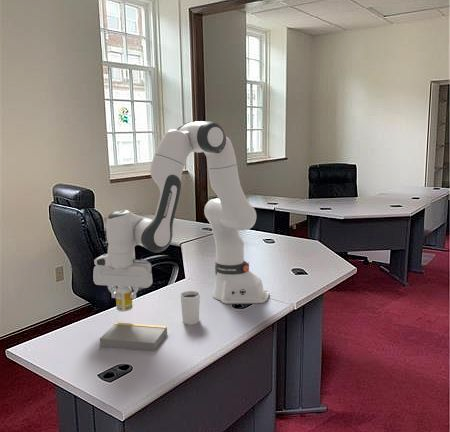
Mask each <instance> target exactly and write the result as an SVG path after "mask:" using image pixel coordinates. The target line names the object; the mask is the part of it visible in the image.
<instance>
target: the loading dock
mask: <svg viewBox="0 0 450 432" xmlns="http://www.w3.org/2000/svg"><path fill="white" fill-rule="evenodd" d="M167 334H168V326H167V325H166V326H165V325H154V324H142V323H130V322H129V323H128V322H115V323H114V324H113V325H112V326H110V328H109V329H108V330H107V331H106V332H105V333H104V334H103V335H101V336H100V337H99V346H100V347H105V348H107V347H109V348H119V349H120V348H121V349H129V350H139V351H140V350H142V351H150V352H151V351H153V352H155V350H156V349H157V348H158V347H159V345H160V344H161V343H162V341H163V340H164V338H165V337H166V336H167Z"/></svg>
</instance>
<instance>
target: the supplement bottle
mask: <svg viewBox="0 0 450 432" xmlns="http://www.w3.org/2000/svg"><path fill="white" fill-rule="evenodd" d="M115 291H116V298H115V303H116V307H115V308H116V310H117V311H118V312H129V311H131V310H133V299H130V294H131V293H133V292H132V291H133V288H132V287H125V286H123V284H119V286H116V288H115Z"/></svg>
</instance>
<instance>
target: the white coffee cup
mask: <svg viewBox="0 0 450 432" xmlns="http://www.w3.org/2000/svg"><path fill="white" fill-rule="evenodd" d="M200 296H201V295H200V292H199V291H196V290H186V291H182V292H181V293H180V304H181V305H180V307H181V315H182V316H181V317H182V323H183V324H185V325H190V326H191V325H196V324H198V323H200V298H201V297H200Z"/></svg>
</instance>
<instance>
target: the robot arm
mask: <svg viewBox="0 0 450 432" xmlns="http://www.w3.org/2000/svg"><path fill="white" fill-rule="evenodd" d="M234 149H235V148H234V146H233V144H232V141H231V140H230V137H227V136H226V133H225V131H224V129H223V127H222V126H221V125H220V124H219V123H217V122H213V121H211V120H210V121H206V120H204V121H203V120H200V121H199V120H198V121H197V120H196V121H193V122H185V123H183V124H181V125H179V126H178V128H176V129H169V130H167V131H166V132H165V133H164V134H163V136H162V138H161V139H160V142H159V143H158V145H157V147H156V150H155V152H154V155H153V157H152V160H151V163H150V164H151V165H150V169H149V173H150V177H151V178H152V180H153V182H154V183H155V184H156V185H157V187H158V190H159V199H158V202H157V206H156V209H155V210H156V211H155V213H154V214H155V215H154V217H153V218H150V217H145V216H141V215H139V214H138V215H137V214H136V213H133V212H131V211H130V210H128V209H121V210H116V211H113V212H111V213H110V214H108V216H107V219H106V228H105V229H106V230H105V232H106V233H105V234H106V240H107V241H106V242H107V244H108V245H107V253H104V254H102V255H101V254H100V256H98V257H96V258H95V259H94V260H93V262H94V263H93V264H94V265H95V266H94V267H93V272H92V273H93V274H92V275H93V276H92V278H93V283H94V284H95V285H96V286H107V289H108V291H109V292H110V293H111V294H110V295H111V298H112V299H116V289H115V287H117V286H119V284H123V286H125V287H130V288H132V291H133V292H132V293H131V294H130V299H132V300H136V299H137V293H138V291H139V290H140V289H139V288H141V289H143V288H144V289H147V288H149V287H151V286H152V285H153V281H154V280H153V273H152V263H151V262H149V261H148V260H146V259H136V252H135V247H136V246H141V247H143V248H145V249H146V250H148V251H150V252H152V253H154V254H155V253H161V252H164V251H165V250H166V249H168V247H169V246H170V245H171V243H172V240H173V225H174V219H175V215H176V211H177V207H178V203H179V200H180V195H181V189H182V175H183V172H184V168H185V166H186V162H187V159H188V156H189V155H190V154H191V153H197V154H199V153H203V154H204V155H205V157H206V162H207V163H206V164H207V165H206V166H207V169H208V170H207V171H208V177H209V182H210V187H211V189H212V191H213V192H214V193H215V194H216V196H217V197H216V198H212V199H209V200H208V201H207V202H206V204H205V205H204V208H203V211H204V217H205V218H206V219H207V221H208V222H209V225H210V227H211V231H212V234H213V237H214V241H215V262H214V273H215V283H214V289H213V292H212V296H213V298H215V299H216V300H218V301H220V302H222V303H223V304H230V305H231V304H232V305H233V304H263V303H265V302H267V300H268V299H269V297H270V294H269V290H267V288H264V285H263V282H262V279H261V278H260V277H258V276H257V275H256V274H255V273H253V272H252V271H251V270H250V263H249V261H245V245H244V244H245V243H244V241H243V239H242V238H241V236H240V234H239V232H238V231H248V230H251V229H252V228H253V227H254V226H255V224H256V221H257V211H256V209H255V208H254V207H253V205H252V204H251V203H250V202H249V200H248V199H247V197H246V194H245V193H244V191H243V188H242V185H241V181H240V176H239V170H238V164H237V156H236V153H235V150H234Z"/></svg>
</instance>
